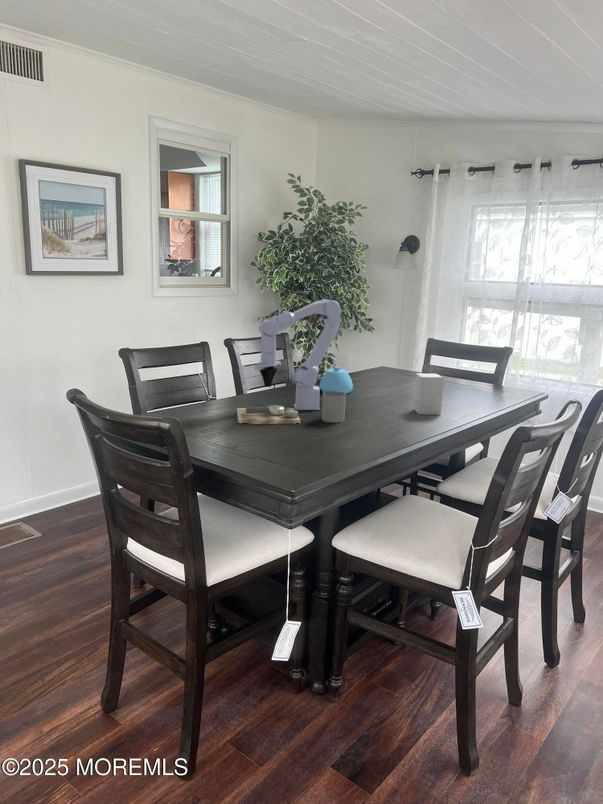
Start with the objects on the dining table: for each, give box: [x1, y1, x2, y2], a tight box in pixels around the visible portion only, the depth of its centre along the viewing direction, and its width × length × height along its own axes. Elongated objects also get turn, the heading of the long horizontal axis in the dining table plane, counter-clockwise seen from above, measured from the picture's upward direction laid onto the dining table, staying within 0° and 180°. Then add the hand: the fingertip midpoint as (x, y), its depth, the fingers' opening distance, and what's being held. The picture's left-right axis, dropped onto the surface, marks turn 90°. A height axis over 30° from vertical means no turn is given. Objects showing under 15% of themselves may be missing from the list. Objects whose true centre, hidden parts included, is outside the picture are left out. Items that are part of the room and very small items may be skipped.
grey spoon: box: [245, 404, 285, 415], centre depth 220 cm, size 14×6×2 cm, turn 103°
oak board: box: [236, 407, 301, 425], centre depth 222 cm, size 22×18×4 cm
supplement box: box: [413, 372, 445, 416], centre depth 236 cm, size 9×9×15 cm
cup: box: [321, 391, 347, 424], centre depth 220 cm, size 8×8×10 cm
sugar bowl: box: [319, 366, 354, 395], centre depth 271 cm, size 15×15×12 cm
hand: (267, 386), depth 232 cm, fingers closed
